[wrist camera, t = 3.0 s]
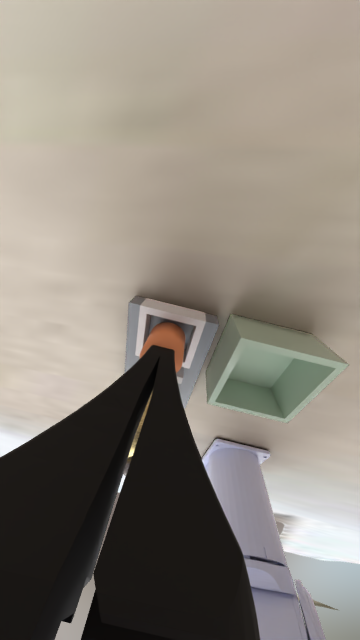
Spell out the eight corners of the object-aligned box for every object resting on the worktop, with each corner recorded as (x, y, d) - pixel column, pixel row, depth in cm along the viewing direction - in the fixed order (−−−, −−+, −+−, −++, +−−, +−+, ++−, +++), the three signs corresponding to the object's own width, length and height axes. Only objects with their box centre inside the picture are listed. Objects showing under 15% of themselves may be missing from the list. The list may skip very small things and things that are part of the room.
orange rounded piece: (181, 355, 12) (177, 380, 10) (148, 347, 12) (137, 370, 10) (189, 327, 10) (187, 349, 8) (153, 318, 10) (141, 337, 8)
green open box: (270, 387, 16) (287, 423, 13) (205, 371, 16) (207, 403, 13) (312, 334, 13) (349, 364, 9) (230, 313, 12) (241, 337, 9)
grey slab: (184, 400, 18) (182, 426, 16) (128, 386, 18) (117, 410, 16) (219, 308, 12) (225, 326, 10) (136, 287, 12) (120, 300, 10)
